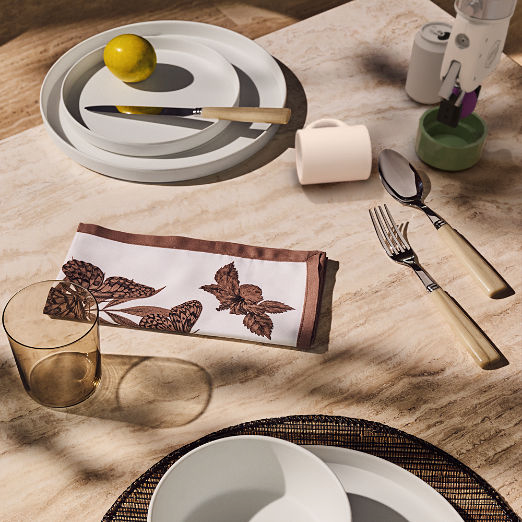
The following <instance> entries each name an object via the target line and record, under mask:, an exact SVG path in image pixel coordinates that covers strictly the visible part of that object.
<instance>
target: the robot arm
mask: <svg viewBox="0 0 522 522" xmlns="http://www.w3.org/2000/svg"><path fill="white" fill-rule="evenodd" d="M517 2H518V0H455V1H454V5H453V7H454V10H455V13H456V16H455V18H454V22H453V24H452V25H453V27H452V31H451V34H450V37H449V40H448V44H447V47H446V51H445V55H444V59H443V63H442V67H441V73H440V80H441V82H444V83H443V85H442V87H441V89H440V91H439V93H438V96H439V97H441V98H440V100H441V101H440V102H439V105H438V106H439V110H438V114H437V121H439V122H441V123H443V124H446V125H448V126H450V127H452V128H456V127H457V126H458V123H459V119H460V115H461V112H462V108H463V104H461V102H462V100H463V97H464V94H465V91H466V92H467V93H469V92H471V91H473V90H474V91H475V93H476V97H477V102H478V100H479V96H480V94H481V89H482V86H483V85H482V84H483V82H484V81H485V80H486V79H487V78H488V77H489V76H490V75H491V74H492V73H493V72H494V71H495V69H496V68H497V67H498V65H499V64H500V61H501V59H502V56H503V55H502V54H503V52H504V47H505V44H506V39H507V35H508V30H509V27H510V21H511V18H512V17H513V15H514V12H515V9H516V5H517ZM453 87H455V88H458V89H460V90H459V93H458V96H457V95H456V94H454V93H453V92H452V90H453Z"/></svg>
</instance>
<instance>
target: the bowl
mask: <svg viewBox="0 0 522 522" xmlns="http://www.w3.org/2000/svg"><path fill="white" fill-rule="evenodd" d="M439 106H440V105H437V106H434V107H431V108H429V109H427V110H426V111H424V112H422V114H421V115H420V117H419V119H418V123H417V129H416V133H415V137H414V145H413V148H414V151H415V153H416V155H417V156H418V157H419V158H420V160H422V162H424V163H426V164H428V165H429V166H431V167H433V168H436V169H440V170H443V171H450V172H451V171H463V170H466V169H469V168H472V167H473V166H475V165H476V164H477V163H478V162H479V161H480V159H481V157H482V154H483V151H484V148H485V144H486V141H487V138H488V135H489V126H488V124H487V122H486V121H485V119H484V118H483V117H482V116H481V115H480V114H478V113H477V112H475V111H473V112H472V113H471V114H470V115H469V116H467V117H465V118H461V119H459V123H458V126H457V127H456V128H452V127H450V126H448V125H446V124H443V123H441V122H439V121H437V114H438V110H439Z"/></svg>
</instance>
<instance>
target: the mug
mask: <svg viewBox="0 0 522 522" xmlns="http://www.w3.org/2000/svg"><path fill="white" fill-rule="evenodd" d="M294 139H295V140H294V153H295V154H294V155H295V167H296V174H297V179H298V182H299V184H300V185H315V184H327V183H338V182H340V183H341V182H351V181H352V182H353V181H364V180H365V181H366V180H368V179H369V177H370V175H371V173H372V172H371V171H372V166H373V164H372V163H373V162H372V161H373V152H372V151H373V150H372V140H371V136H370V131H369V130H368V128H367V126H366V124H356V125H349V124H347V123H346V122H344V121H343V120H340V119H336V118H332V117H327V118H321V119H317V120H315V121H313V122H311V123H309V124H308V125H306V126H305V128H302V129H297V130H296V132H295V138H294Z"/></svg>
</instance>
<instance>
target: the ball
mask: <svg viewBox="0 0 522 522" xmlns="http://www.w3.org/2000/svg"><path fill="white" fill-rule="evenodd" d="M459 90H460V89H458V88H455V87H453V90H452V92H453V93H454V94H456V95H457V96H458V93H459ZM461 104H463V108H462V112H461V115H460V119H461V118H465V117H467V116H469V115H470V114H471V113H472V112H475V110H476V107H477V104H478V101H477V97H476V93H475V91H474V90H473V91H471V92H469V93H467V92H466V91H465V94H464V97H463V100H462V102H461Z"/></svg>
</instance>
